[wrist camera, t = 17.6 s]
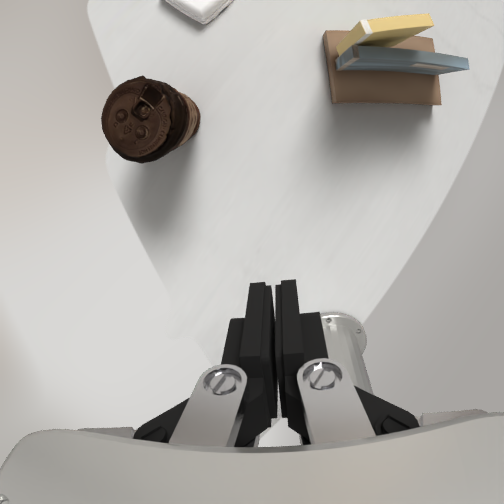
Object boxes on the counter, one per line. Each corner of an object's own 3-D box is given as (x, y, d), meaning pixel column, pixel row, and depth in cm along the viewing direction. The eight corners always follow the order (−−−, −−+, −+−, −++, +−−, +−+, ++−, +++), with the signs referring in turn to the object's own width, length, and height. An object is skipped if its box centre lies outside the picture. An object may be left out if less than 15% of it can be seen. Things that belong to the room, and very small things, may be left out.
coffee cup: (205, 79, 34) (173, 61, 22) (217, 142, 37) (190, 153, 25) (140, 96, 35) (87, 91, 23) (152, 156, 38) (103, 175, 26)
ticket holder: (432, 105, 32) (476, 105, 23) (332, 103, 34) (353, 98, 24) (424, 41, 29) (464, 25, 19) (322, 35, 30) (339, 8, 21)
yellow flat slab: (335, 46, 28) (359, 20, 18) (389, 36, 27) (428, 13, 17) (339, 57, 29) (365, 34, 19) (393, 46, 27) (434, 25, 18)
